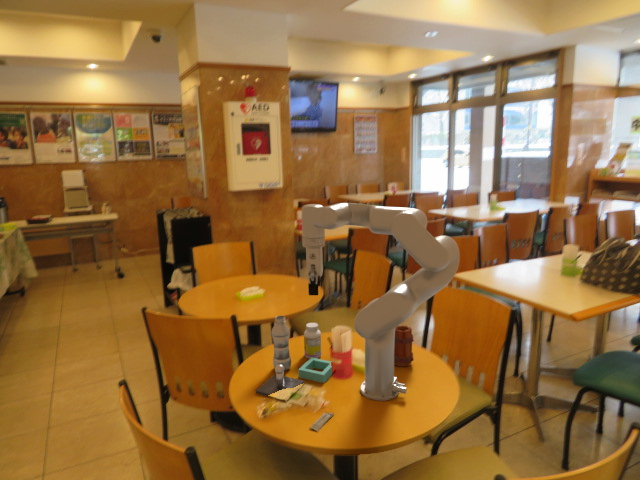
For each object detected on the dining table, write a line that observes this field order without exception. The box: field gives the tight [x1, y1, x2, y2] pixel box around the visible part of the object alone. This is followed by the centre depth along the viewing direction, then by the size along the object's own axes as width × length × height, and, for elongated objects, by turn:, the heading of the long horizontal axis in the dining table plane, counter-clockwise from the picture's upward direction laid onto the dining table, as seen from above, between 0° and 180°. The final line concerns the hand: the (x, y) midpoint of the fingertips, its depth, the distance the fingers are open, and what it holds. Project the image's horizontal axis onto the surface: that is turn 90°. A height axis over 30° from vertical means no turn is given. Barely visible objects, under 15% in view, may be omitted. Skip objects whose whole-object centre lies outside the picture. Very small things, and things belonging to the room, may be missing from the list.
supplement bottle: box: [303, 322, 322, 359], centre depth 170 cm, size 7×7×13 cm
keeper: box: [255, 364, 305, 397], centre depth 147 cm, size 12×12×9 cm
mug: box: [394, 324, 415, 367], centre depth 163 cm, size 15×8×15 cm, turn 49°
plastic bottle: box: [271, 315, 292, 371], centre depth 160 cm, size 6×7×20 cm
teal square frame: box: [298, 357, 333, 384], centre depth 157 cm, size 10×10×3 cm
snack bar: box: [309, 410, 335, 433], centre depth 129 cm, size 10×2×3 cm
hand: (314, 290), depth 150 cm, fingers open, 9 cm apart
